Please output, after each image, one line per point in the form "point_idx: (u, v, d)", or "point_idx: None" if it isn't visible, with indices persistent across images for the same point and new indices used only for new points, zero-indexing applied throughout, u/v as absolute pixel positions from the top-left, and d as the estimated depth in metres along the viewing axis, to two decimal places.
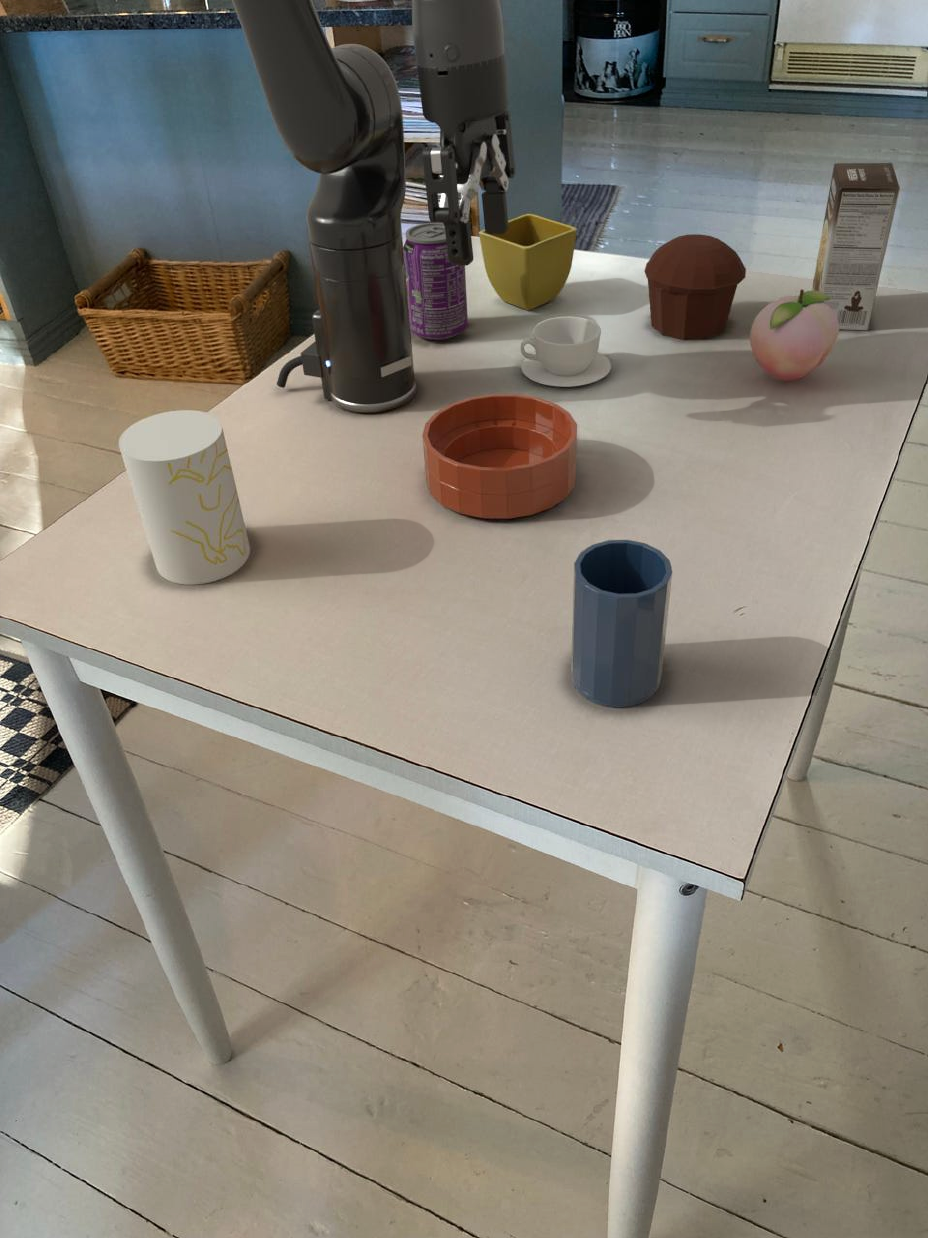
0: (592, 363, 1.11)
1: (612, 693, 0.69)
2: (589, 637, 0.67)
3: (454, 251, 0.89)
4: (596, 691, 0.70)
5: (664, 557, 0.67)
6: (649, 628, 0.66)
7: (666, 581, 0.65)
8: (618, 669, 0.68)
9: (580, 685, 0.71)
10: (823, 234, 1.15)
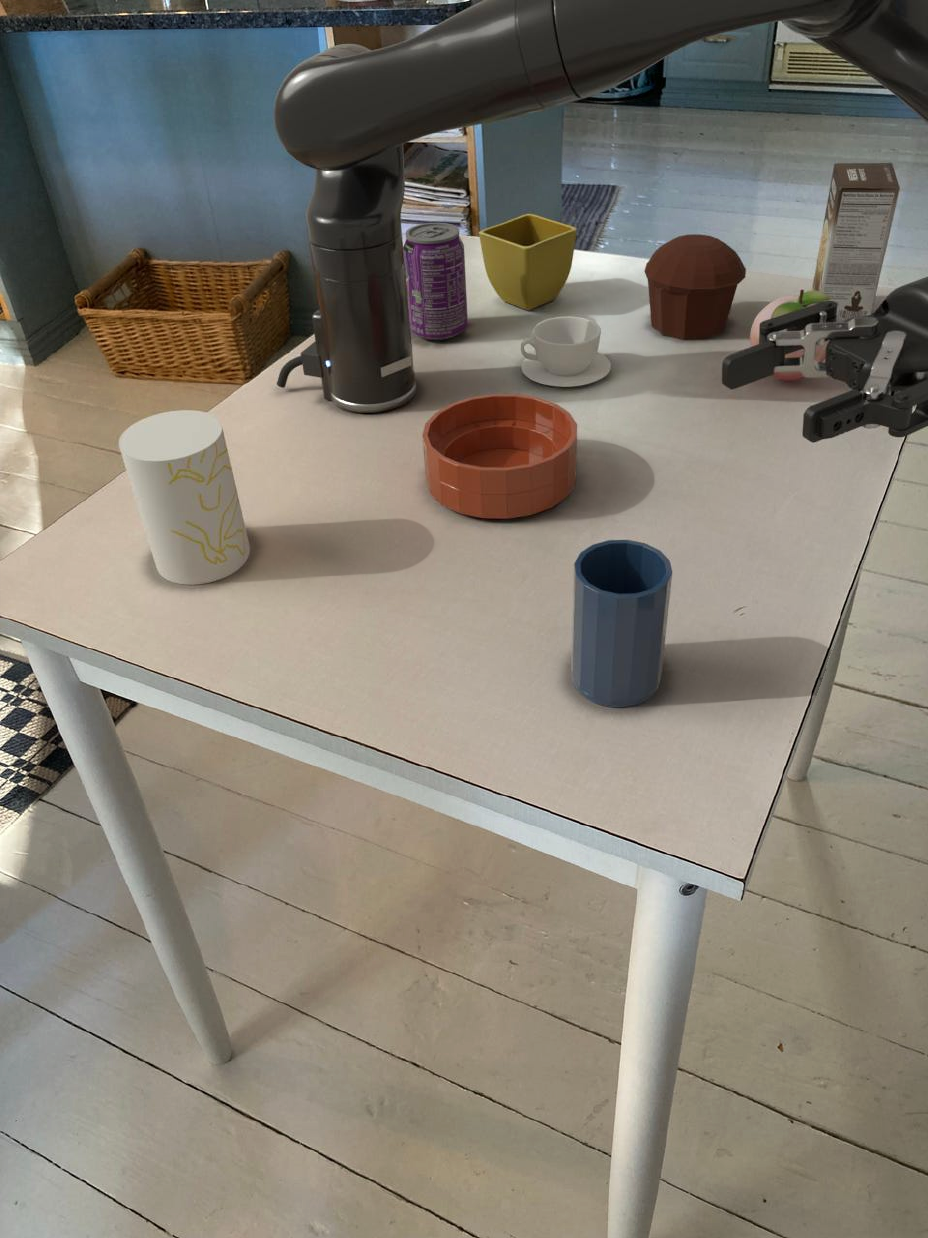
0: (592, 363, 1.11)
1: (612, 693, 0.69)
2: (589, 637, 0.67)
3: None
4: (596, 691, 0.70)
5: (664, 557, 0.67)
6: (649, 628, 0.66)
7: (666, 581, 0.65)
8: (618, 669, 0.68)
9: (580, 685, 0.71)
10: (823, 234, 1.15)
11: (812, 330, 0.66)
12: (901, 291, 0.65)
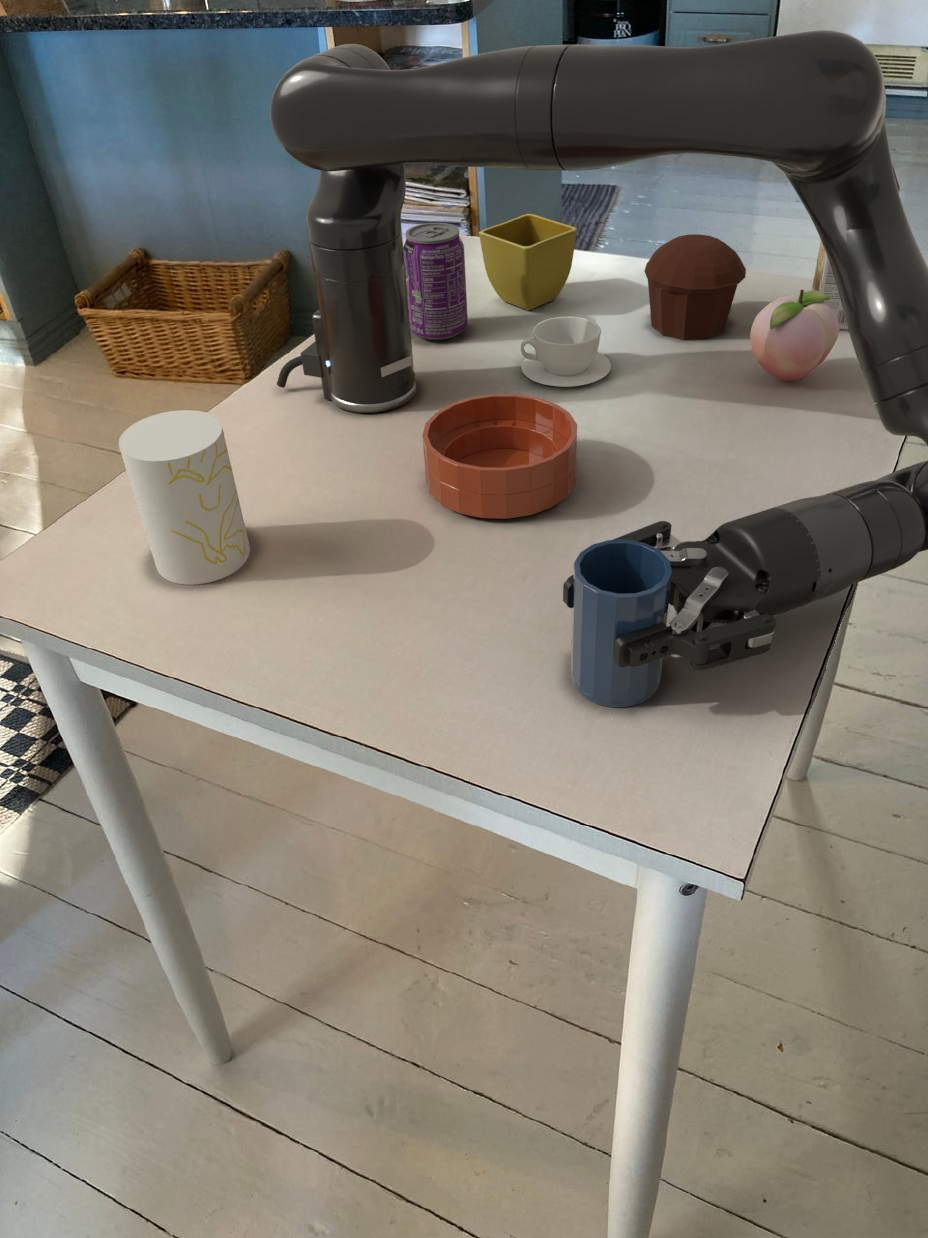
0: (592, 363, 1.11)
1: (612, 693, 0.69)
2: (589, 637, 0.67)
3: None
4: (596, 691, 0.70)
5: (664, 557, 0.67)
6: None
7: (666, 581, 0.65)
8: (618, 669, 0.68)
9: (580, 685, 0.71)
10: None
11: None
12: (729, 528, 0.71)
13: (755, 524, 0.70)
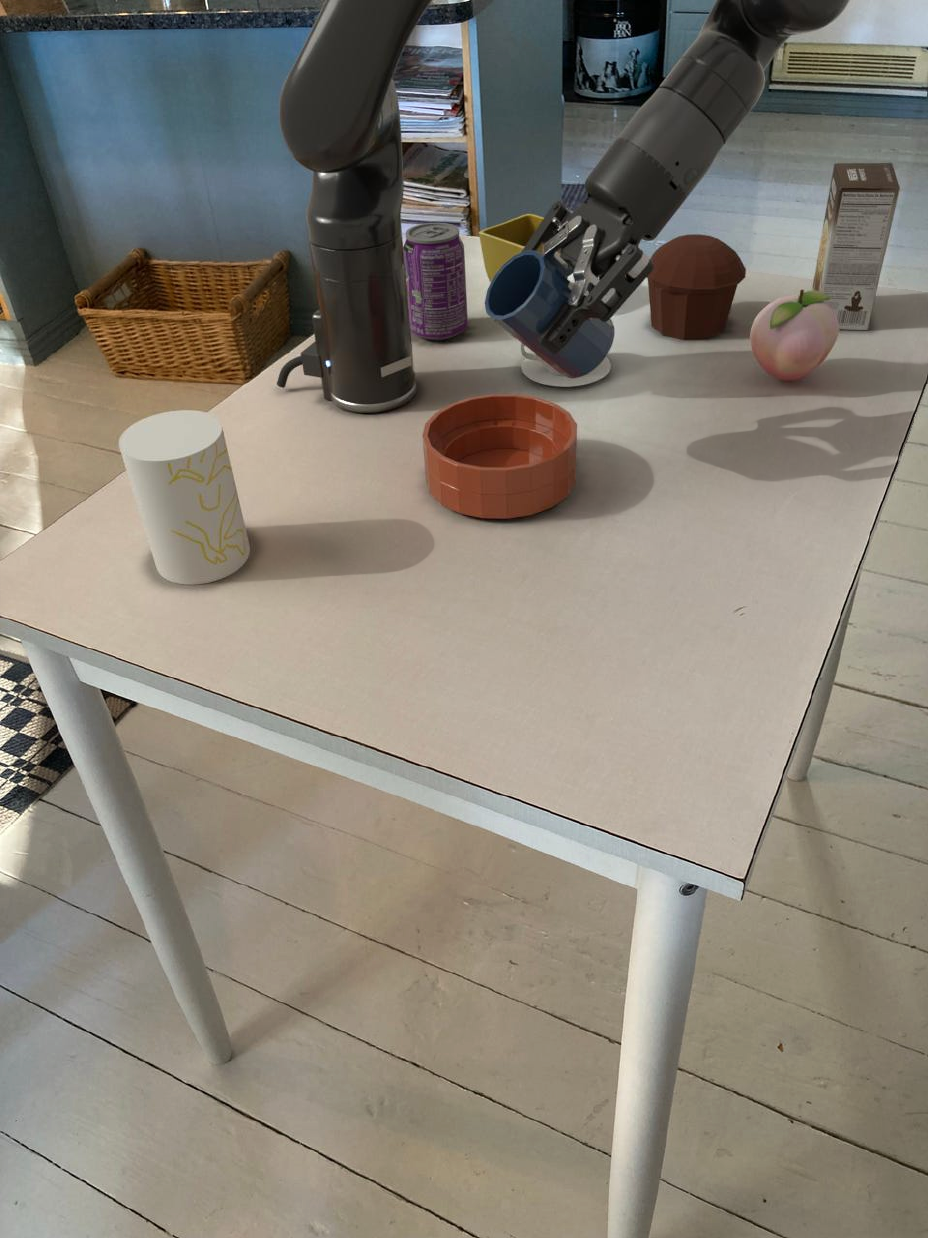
0: None
1: (576, 367, 0.87)
2: (528, 345, 0.85)
3: None
4: (567, 371, 0.88)
5: (538, 255, 0.82)
6: None
7: (541, 277, 0.80)
8: (563, 352, 0.85)
9: (559, 372, 0.89)
10: (823, 234, 1.15)
11: (545, 251, 0.85)
12: (586, 185, 0.82)
13: (598, 171, 0.80)
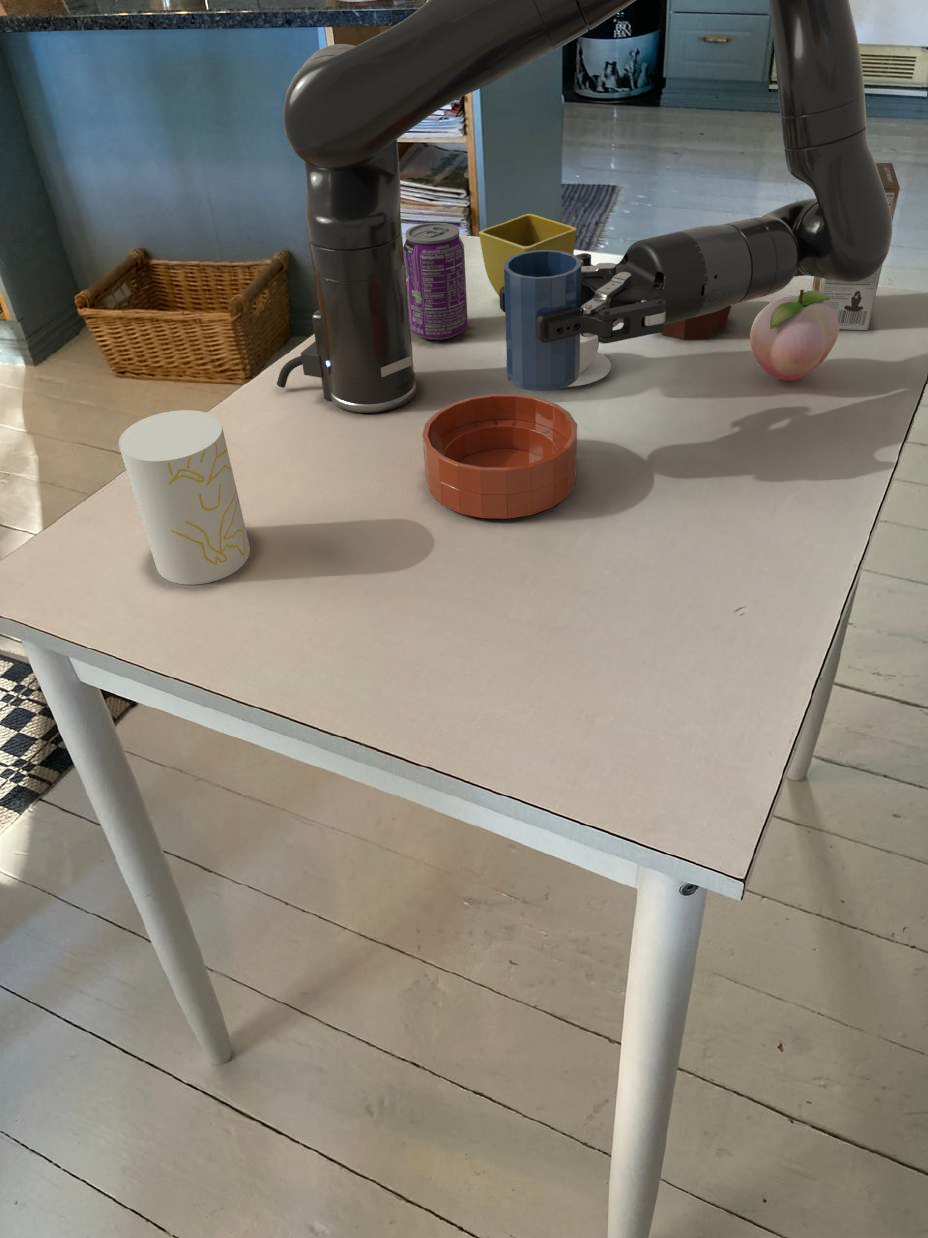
0: (592, 363, 1.11)
1: (537, 376, 0.86)
2: (516, 324, 0.84)
3: (557, 327, 0.82)
4: (525, 376, 0.86)
5: (576, 257, 0.83)
6: None
7: (576, 269, 0.81)
8: (540, 351, 0.84)
9: (512, 376, 0.87)
10: None
11: None
12: (634, 245, 0.87)
13: (654, 239, 0.86)
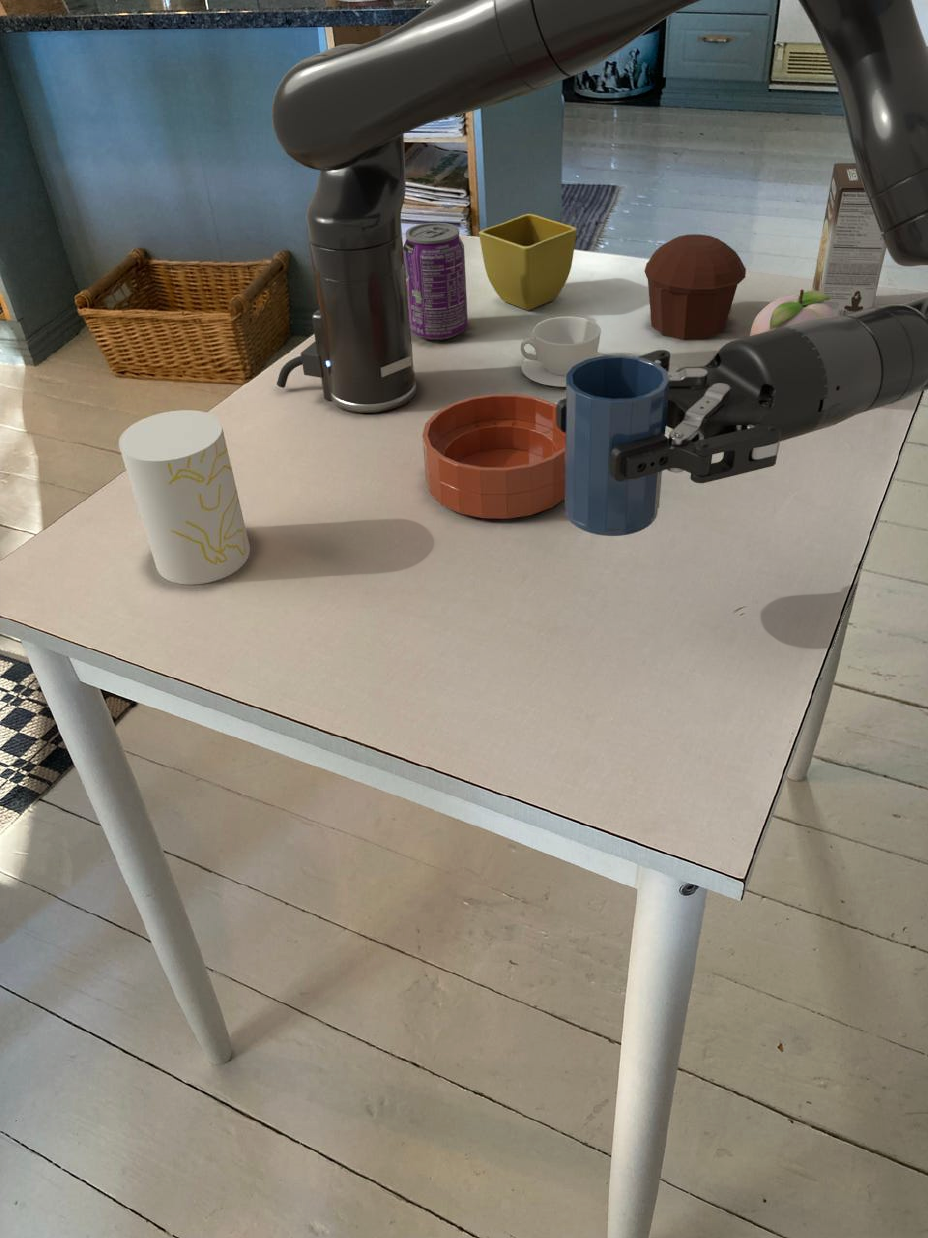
0: None
1: (607, 519, 0.66)
2: (582, 454, 0.64)
3: None
4: (590, 518, 0.66)
5: (661, 368, 0.63)
6: None
7: (663, 387, 0.61)
8: (613, 489, 0.64)
9: (573, 515, 0.67)
10: (823, 234, 1.15)
11: None
12: (731, 345, 0.67)
13: (758, 339, 0.66)
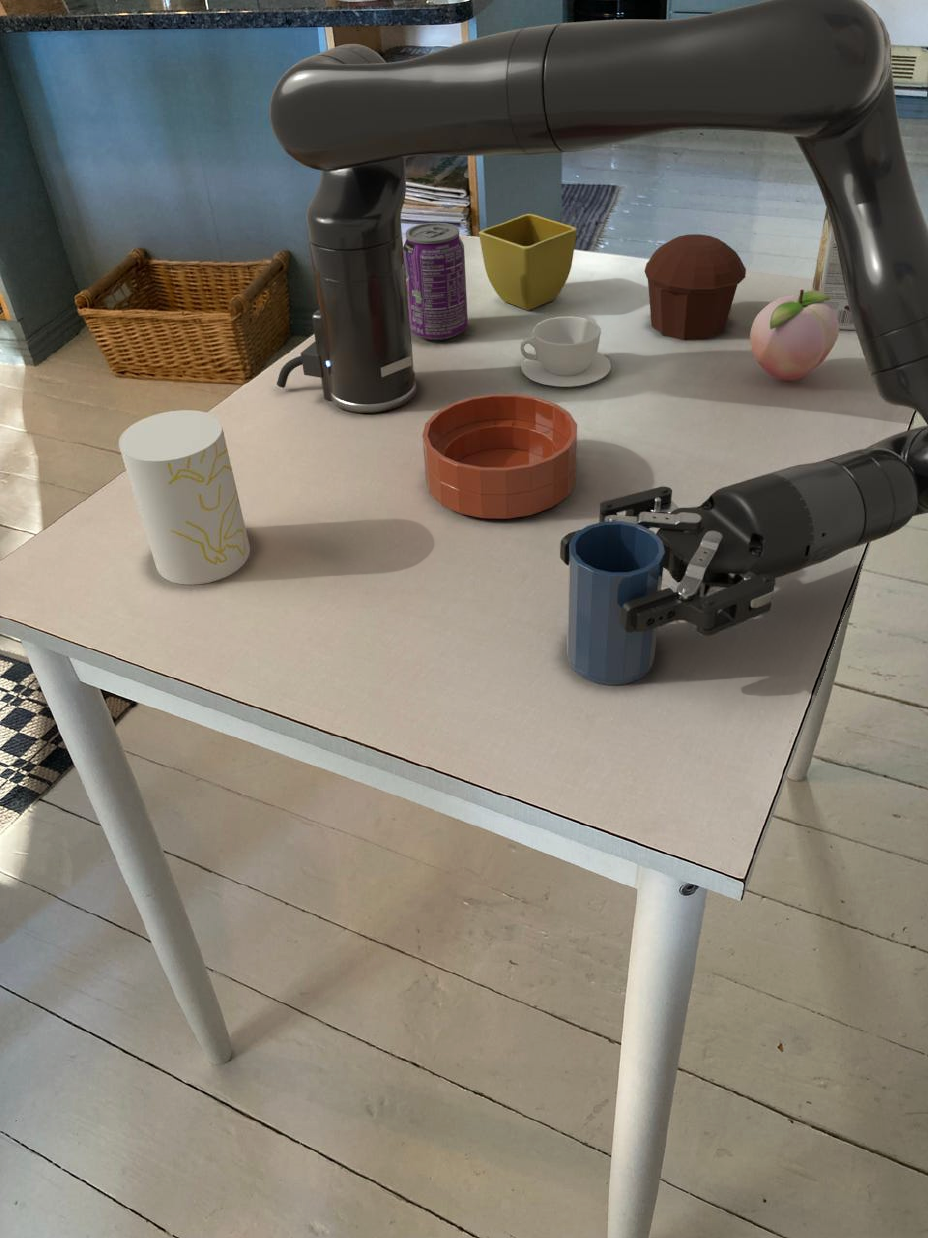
0: (592, 363, 1.11)
1: (606, 671, 0.71)
2: (584, 615, 0.69)
3: None
4: (591, 669, 0.72)
5: (657, 538, 0.69)
6: None
7: (659, 560, 0.67)
8: (612, 647, 0.70)
9: (575, 664, 0.73)
10: (823, 234, 1.15)
11: (643, 519, 0.72)
12: (723, 493, 0.71)
13: (749, 489, 0.71)
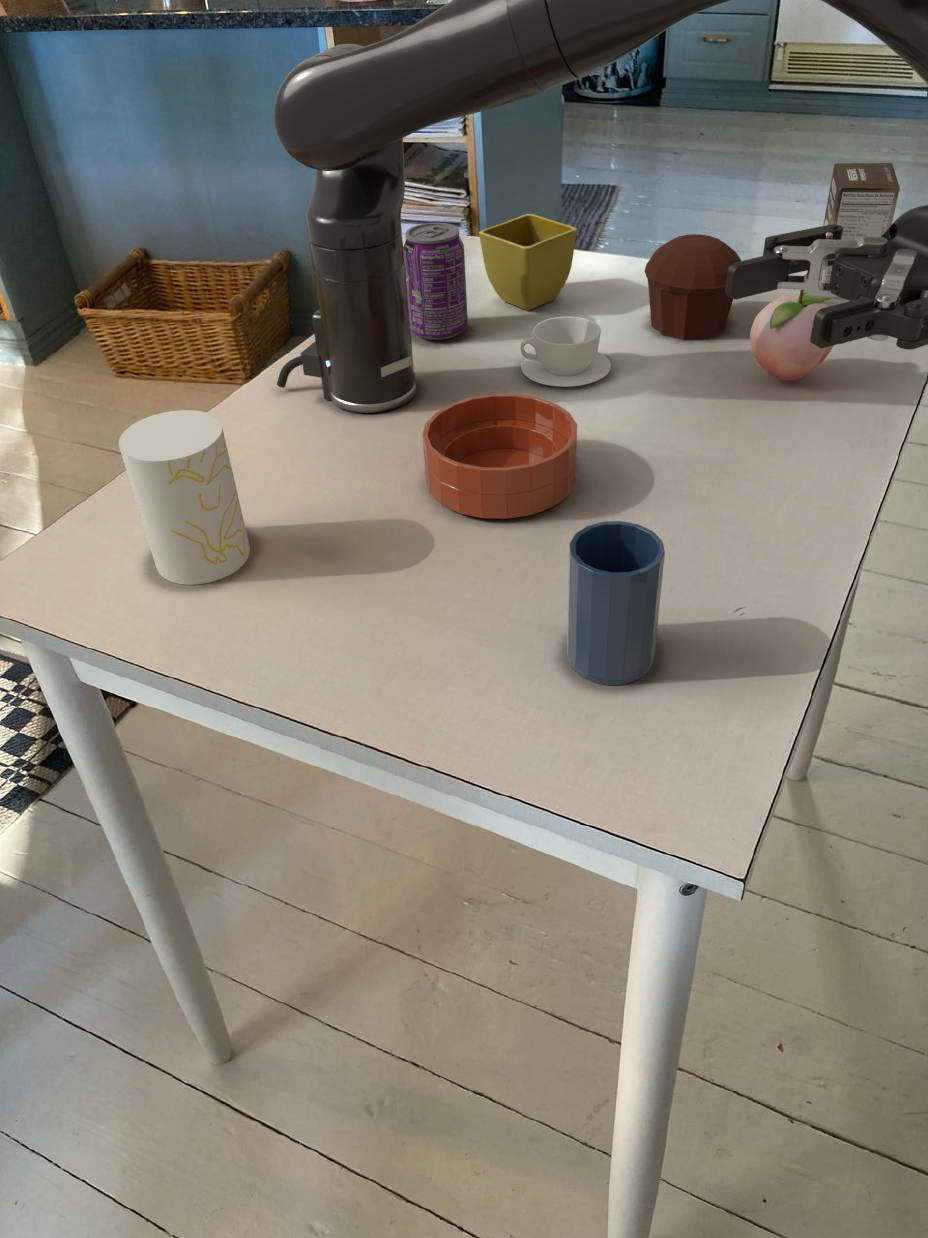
0: (592, 363, 1.11)
1: (606, 671, 0.71)
2: (584, 615, 0.69)
3: None
4: (591, 669, 0.72)
5: (657, 538, 0.69)
6: (642, 606, 0.68)
7: (659, 560, 0.67)
8: (612, 647, 0.70)
9: (575, 664, 0.73)
10: None
11: (820, 244, 0.64)
12: (911, 213, 0.64)
13: None
